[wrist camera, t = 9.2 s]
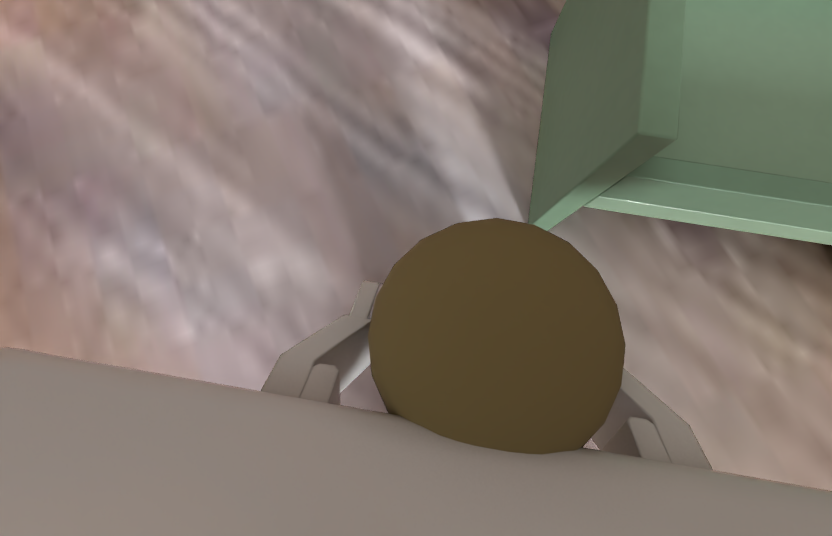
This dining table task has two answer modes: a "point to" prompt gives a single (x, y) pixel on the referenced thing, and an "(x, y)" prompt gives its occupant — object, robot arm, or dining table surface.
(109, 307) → the dining table surface
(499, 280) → the olive tall rounded piece
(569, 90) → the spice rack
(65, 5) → the dining table surface
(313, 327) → the dining table surface
